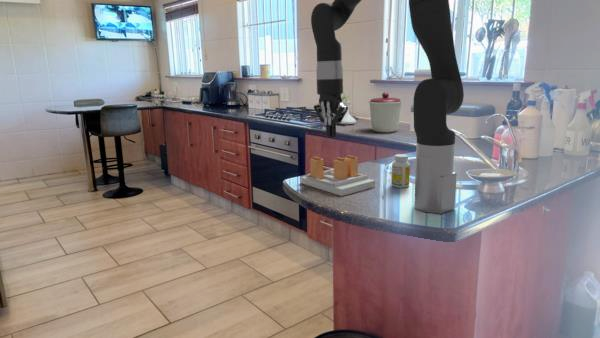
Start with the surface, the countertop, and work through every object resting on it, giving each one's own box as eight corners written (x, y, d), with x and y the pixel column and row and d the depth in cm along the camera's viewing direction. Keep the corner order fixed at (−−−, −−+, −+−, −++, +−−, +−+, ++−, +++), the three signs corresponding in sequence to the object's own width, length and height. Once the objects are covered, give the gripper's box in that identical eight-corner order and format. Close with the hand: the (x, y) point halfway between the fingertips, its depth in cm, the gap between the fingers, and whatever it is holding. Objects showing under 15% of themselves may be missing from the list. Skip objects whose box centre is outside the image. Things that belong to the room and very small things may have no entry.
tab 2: (347, 178, 134) (347, 158, 133) (340, 180, 133) (340, 159, 131) (340, 176, 137) (340, 156, 135) (333, 178, 135) (333, 158, 133)
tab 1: (323, 177, 136) (323, 157, 135) (316, 179, 135) (316, 158, 133) (317, 175, 139) (317, 155, 137) (310, 177, 137) (309, 157, 135)
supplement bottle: (394, 188, 131) (395, 157, 128) (389, 183, 136) (389, 154, 134) (411, 187, 131) (412, 156, 129) (405, 182, 136) (406, 153, 134)
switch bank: (374, 186, 133) (375, 176, 132) (341, 196, 125) (341, 184, 124) (333, 175, 148) (333, 165, 147) (301, 183, 140) (301, 172, 139)
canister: (407, 130, 237) (409, 91, 232) (390, 135, 224) (390, 94, 219) (379, 128, 249) (380, 91, 244) (361, 132, 236) (361, 93, 231)
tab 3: (357, 176, 137) (357, 155, 135) (350, 177, 135) (350, 157, 134) (351, 174, 139) (351, 154, 138) (344, 176, 138) (344, 155, 136)
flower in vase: (346, 122, 276) (346, 82, 270) (360, 124, 267) (360, 82, 261) (332, 124, 268) (331, 83, 262) (345, 126, 259) (345, 84, 253)
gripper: (355, 76, 121) (356, 138, 125) (324, 77, 131) (325, 133, 135) (335, 77, 117) (336, 141, 120) (305, 78, 127) (307, 136, 131)
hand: (331, 137), depth 128 cm, fingers closed
